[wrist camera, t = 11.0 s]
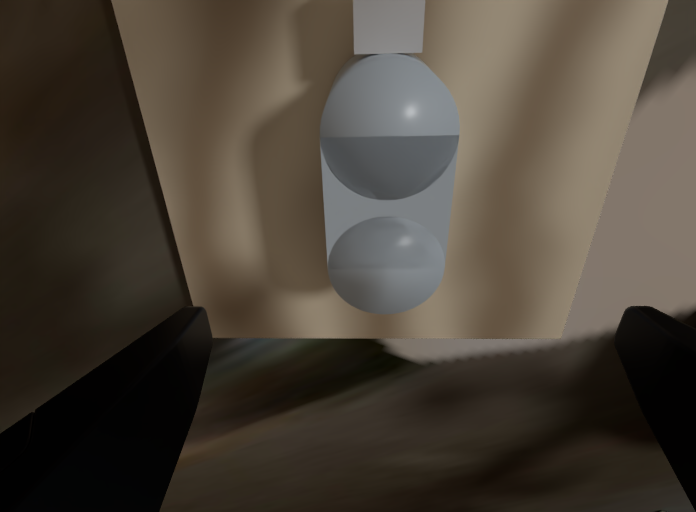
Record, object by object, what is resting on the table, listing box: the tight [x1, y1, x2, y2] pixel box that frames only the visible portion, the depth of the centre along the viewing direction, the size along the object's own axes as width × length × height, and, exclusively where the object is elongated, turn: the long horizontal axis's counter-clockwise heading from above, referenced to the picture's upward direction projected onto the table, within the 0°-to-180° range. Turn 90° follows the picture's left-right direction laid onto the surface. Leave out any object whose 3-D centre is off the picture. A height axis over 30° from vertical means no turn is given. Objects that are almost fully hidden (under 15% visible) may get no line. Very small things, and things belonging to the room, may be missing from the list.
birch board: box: [111, 0, 668, 339], centre depth 19 cm, size 20×20×1 cm
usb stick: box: [320, 0, 460, 314], centre depth 16 cm, size 12×4×4 cm, turn 1°
